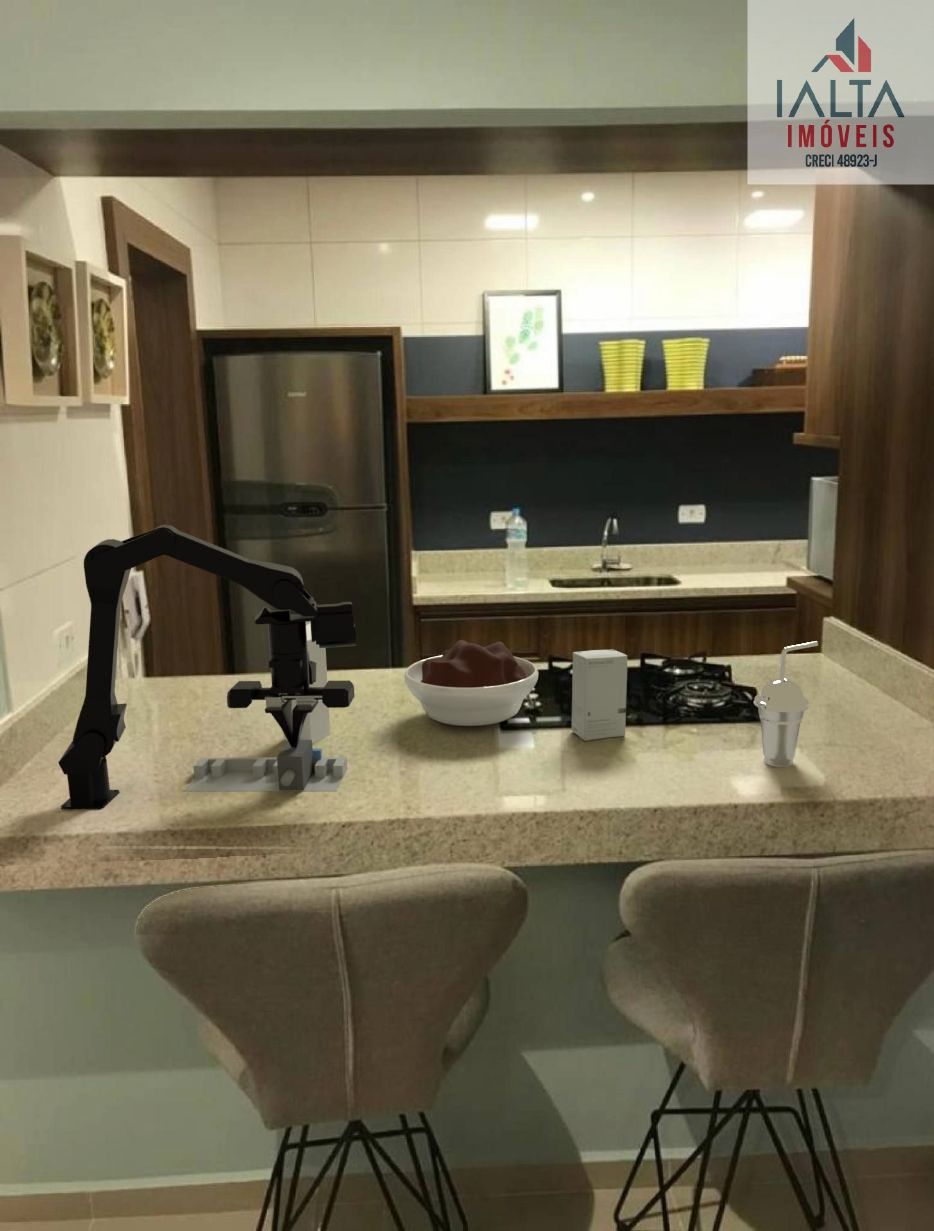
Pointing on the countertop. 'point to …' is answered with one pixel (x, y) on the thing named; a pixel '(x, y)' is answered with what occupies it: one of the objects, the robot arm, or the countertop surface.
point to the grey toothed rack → (262, 774)
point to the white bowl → (471, 684)
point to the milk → (319, 717)
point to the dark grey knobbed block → (295, 765)
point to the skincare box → (599, 694)
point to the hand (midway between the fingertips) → (294, 746)
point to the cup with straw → (781, 715)
